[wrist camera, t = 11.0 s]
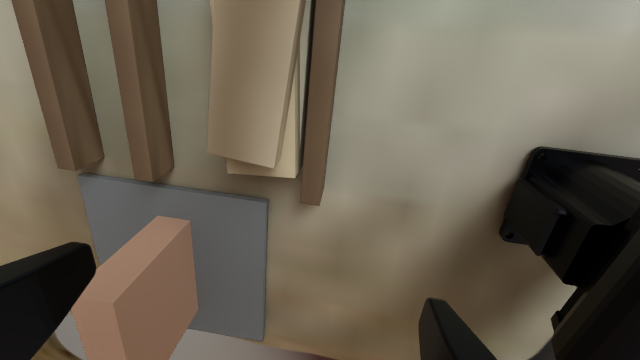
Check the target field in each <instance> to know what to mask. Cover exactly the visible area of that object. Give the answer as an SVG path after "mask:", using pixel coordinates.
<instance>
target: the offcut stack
mask: <svg viewBox="0 0 640 360" xmlns="http://www.w3.org/2000/svg"><path fill="white" fill-rule="evenodd" d="M210 7H211V17H212V27H213V35H212V55H211V75H210V95H209V115H208V135H207V153H210V154H214V155H219V156H223V157H226V162H227V172H228V173H231V174H245V175H258V176H272V177H285V178H296V175H297V173H299V170H300V168H301V166H302V161H303V149H304V136H305V123H306V110H307V98H308V85H309V72H310V59H311V47H312V34H313V21H314V9H315V0H210Z"/></svg>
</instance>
